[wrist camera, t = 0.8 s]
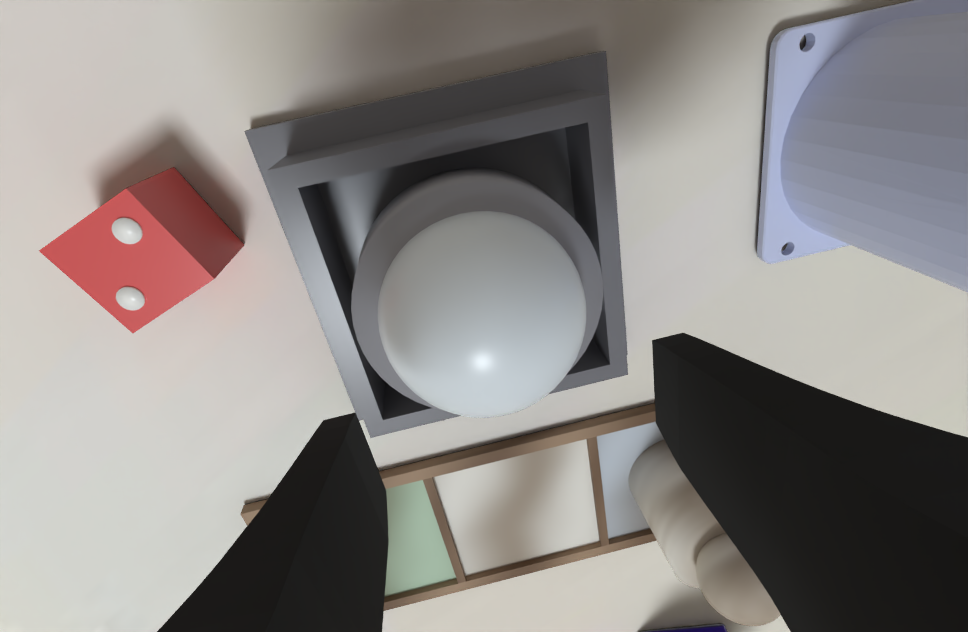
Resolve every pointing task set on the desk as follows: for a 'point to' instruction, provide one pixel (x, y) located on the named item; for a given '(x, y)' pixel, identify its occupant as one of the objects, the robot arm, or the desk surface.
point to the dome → (475, 293)
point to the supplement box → (695, 629)
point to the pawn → (696, 540)
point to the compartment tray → (513, 506)
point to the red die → (145, 249)
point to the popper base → (431, 150)
